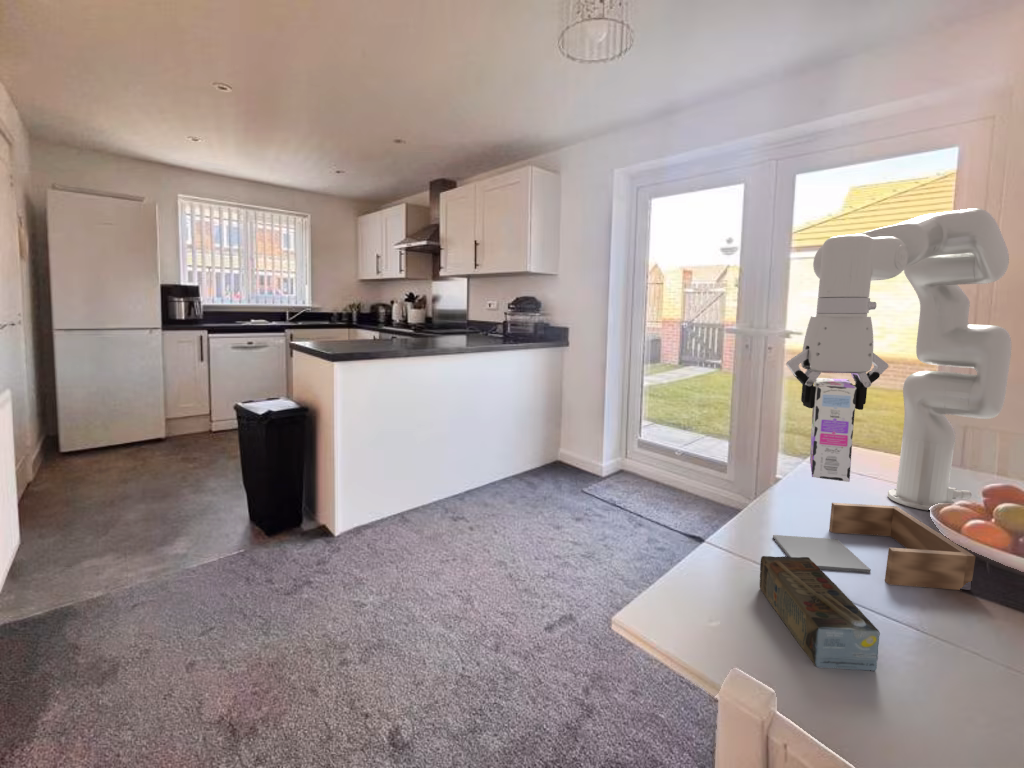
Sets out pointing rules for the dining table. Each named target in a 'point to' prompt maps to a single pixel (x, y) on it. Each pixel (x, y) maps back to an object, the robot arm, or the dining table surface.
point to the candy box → (832, 429)
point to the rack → (907, 546)
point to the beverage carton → (819, 614)
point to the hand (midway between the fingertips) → (832, 406)
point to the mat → (822, 552)
